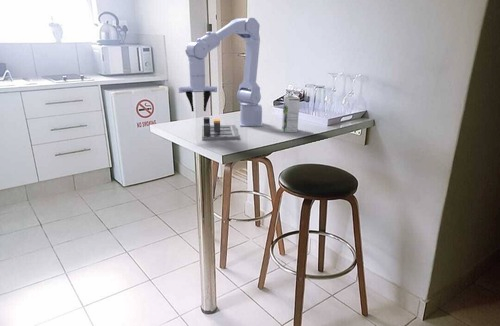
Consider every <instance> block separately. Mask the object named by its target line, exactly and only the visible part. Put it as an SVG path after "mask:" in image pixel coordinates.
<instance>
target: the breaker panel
mask: <svg viewBox="0 0 500 326" xmlns="http://www.w3.org/2000/svg"><path fill="white" fill-rule="evenodd" d="M228 140H229V141H231V140H232V141H234V140H240V135H239V131H238V130H237V125H235V124H225V125H224V124H222V125H221V124H220V131H214V124H213V125H211V122H210V116H208V117H207V116H205V117H203V125H201V141H228Z"/></svg>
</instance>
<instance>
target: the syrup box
mask: <svg viewBox="0 0 500 326" xmlns="http://www.w3.org/2000/svg"><path fill="white" fill-rule="evenodd" d="M300 101H301V99H300V97H299V96H298V95H296V94H286V95H283V108H282V109H283V110H282V125H281V129H282V131H283V133H298V127H299V112H300Z"/></svg>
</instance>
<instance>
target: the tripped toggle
mask: <svg viewBox="0 0 500 326" xmlns="http://www.w3.org/2000/svg"><path fill="white" fill-rule="evenodd" d="M213 125H214V131H220V125H221V119H220V118H215V119H214V118H213Z"/></svg>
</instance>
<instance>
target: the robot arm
mask: <svg viewBox="0 0 500 326" xmlns="http://www.w3.org/2000/svg"><path fill="white" fill-rule="evenodd" d="M260 26H261V25H260V23H259V22H258V20H257V19H256V18H255V17H245V18H244V17H242V18H241V17H237V18H235V19H232V20H230V22H229V23H228V24H226V25H224V26H223V27H222V28H220V29H219V30H217V31H216V32H215V31H206V32H205V35H203V36H202V37H199V38H196V40H195V41H191V42H189V43H188V44H187V46H186V49H185V51H184V52H185V55H186V56H187V58H188V63H189V64H188V65H189V66H188V68H189V83H190V84H189V86H178V93H179V94H182V93H185V95H186V98H187V99H188V102H189V104H190V109H191V112H195V111H194V110H195V107H194V98H193V97H194V95H193V93H203V111H204V112H207V105H208V102H209V100H210V97H211V95H212V94H211V93H218V86H207V85H206V64H205V61H206V60H205V58H206V57H207V55H208V53H210V52H211V51H213V50H214V49H216V48H218V47H219V46H220V45H221V41H223V40H225V39H226V38H228V37H229V36H231V35H233V34H236V35H237V36H239V37H240V38H242V40H243V41H244V42H245V57H244V67H243V68H244V71H243V79H242V80H243V81H242V82H241V83H240V84H239V85H238V86H239V87H238V90H237V93H236V98H237V101H238V102H239V104H240V120H239V121H238V124H239V126H240V127H262V126H263V123H262V122H263V107H262V104H259V103H260V101H261V99H262V95H261V87H260V86H259V85H258V83H257V75H258V66H259V54H260V53H259V52H260V44H261V36H260Z"/></svg>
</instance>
